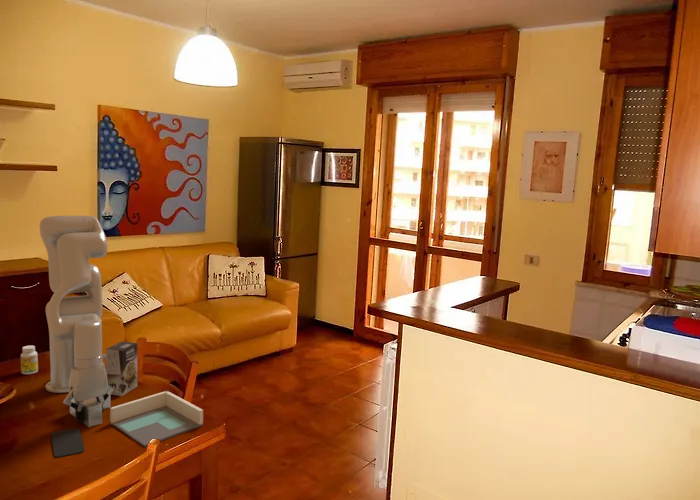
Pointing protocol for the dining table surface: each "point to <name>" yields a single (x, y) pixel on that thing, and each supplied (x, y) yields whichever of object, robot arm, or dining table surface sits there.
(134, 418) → the corner arena
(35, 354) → the supplement bottle
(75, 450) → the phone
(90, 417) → the aluminium bracket
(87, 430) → the dining table surface
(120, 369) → the coffee box
